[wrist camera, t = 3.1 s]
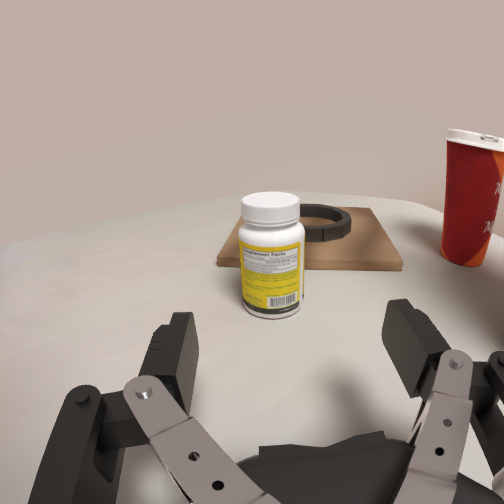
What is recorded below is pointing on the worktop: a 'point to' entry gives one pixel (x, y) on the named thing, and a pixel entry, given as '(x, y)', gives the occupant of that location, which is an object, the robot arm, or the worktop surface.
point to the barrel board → (333, 241)
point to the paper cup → (471, 195)
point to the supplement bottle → (272, 254)
